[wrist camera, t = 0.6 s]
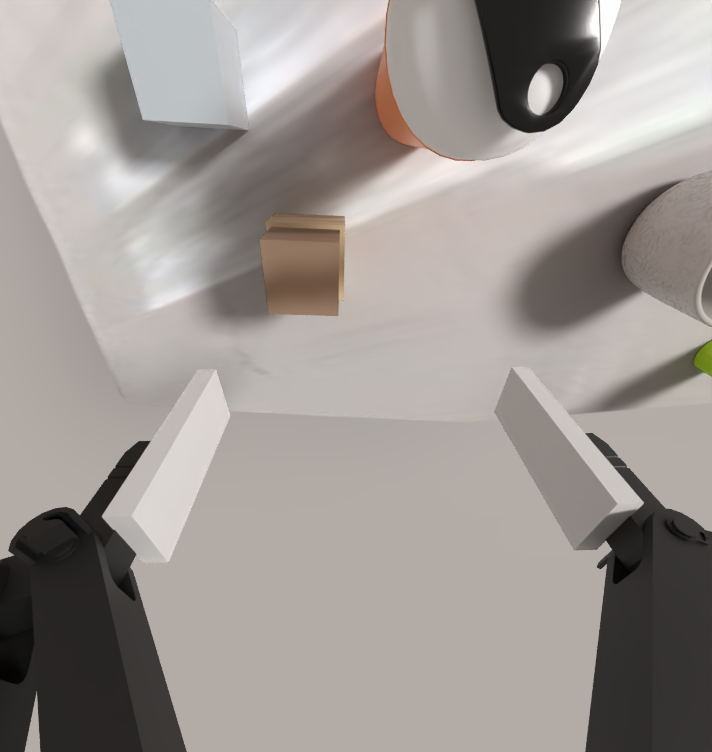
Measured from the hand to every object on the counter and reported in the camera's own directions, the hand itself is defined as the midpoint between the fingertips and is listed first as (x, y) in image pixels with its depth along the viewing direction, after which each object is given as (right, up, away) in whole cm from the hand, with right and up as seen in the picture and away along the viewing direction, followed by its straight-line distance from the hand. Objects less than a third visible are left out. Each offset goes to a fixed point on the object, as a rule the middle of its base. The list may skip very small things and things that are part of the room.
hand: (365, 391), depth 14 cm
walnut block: (-5, +11, +15) cm, 19 cm away
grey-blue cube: (-13, +25, +11) cm, 30 cm away
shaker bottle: (+5, +25, +12) cm, 28 cm away
